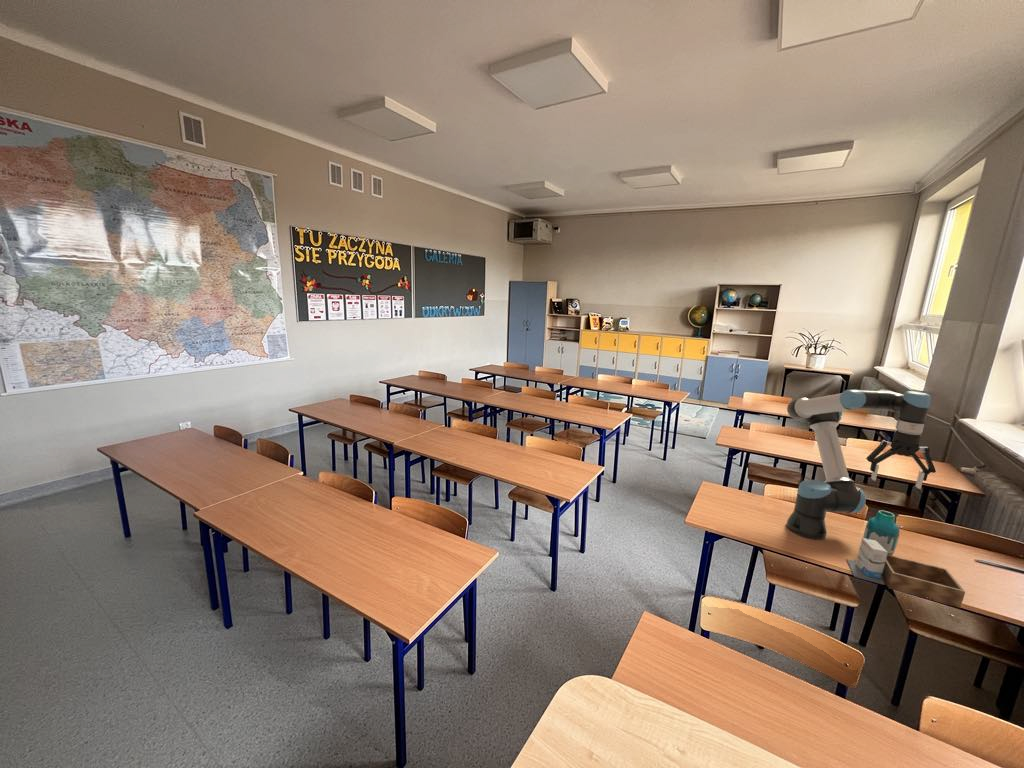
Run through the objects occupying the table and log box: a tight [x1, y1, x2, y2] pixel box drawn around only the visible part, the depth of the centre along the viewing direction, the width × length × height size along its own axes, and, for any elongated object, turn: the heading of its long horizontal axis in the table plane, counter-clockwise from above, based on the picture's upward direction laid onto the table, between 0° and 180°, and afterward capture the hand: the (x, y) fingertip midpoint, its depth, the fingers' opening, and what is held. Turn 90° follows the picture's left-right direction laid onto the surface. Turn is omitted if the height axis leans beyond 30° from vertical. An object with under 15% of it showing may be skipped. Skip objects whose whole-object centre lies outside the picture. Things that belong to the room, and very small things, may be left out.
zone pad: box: [846, 558, 885, 585], centre depth 164 cm, size 9×12×1 cm
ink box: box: [856, 537, 888, 579], centre depth 162 cm, size 8×5×12 cm, turn 165°
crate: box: [881, 554, 966, 609], centre depth 156 cm, size 20×15×6 cm
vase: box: [862, 509, 900, 556], centre depth 174 cm, size 11×11×19 cm
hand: (895, 483), depth 164 cm, fingers open, 13 cm apart
